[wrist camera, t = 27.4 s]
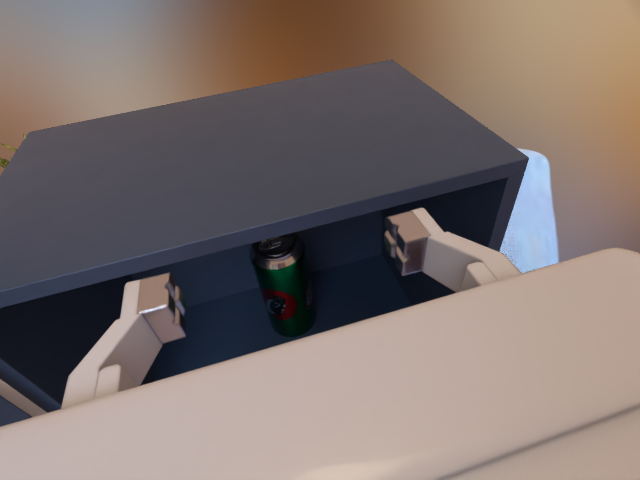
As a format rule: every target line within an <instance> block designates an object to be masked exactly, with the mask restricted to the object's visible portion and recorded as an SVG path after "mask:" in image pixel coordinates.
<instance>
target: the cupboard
mask: <svg viewBox="0 0 640 480" xmlns="http://www.w3.org/2000/svg"><path fill="white" fill-rule="evenodd" d="M528 160H529V158H528V157H527V156H526V155H524V154H523V153H522V152H520V151H519V150H517V149H516V148H515V147H513V146H512V145H510V144H509V143H508V142H506V141H505V140H503V139H502V138H501V137H499V136H498V135H496V134H495V133H494V132H492V131H491V130H489V129H488V128H487V127H485V126H484V125H483V124H481V123H480V122H478V121H477V120H475V119H474V118H473V117H471V116H470V115H469V114H467V113H466V112H464V111H463V110H462V109H460V108H459V107H457V106H456V105H455V104H453V103H452V102H451V101H449V100H448V99H446V98H445V97H444V96H442V95H441V94H439V93H438V92H437V91H435V90H434V89H432V88H431V87H430V86H428V85H427V84H425V83H424V82H423V81H421V80H420V79H418V78H417V77H416V76H414V75H412V74H411V73H410V72H409V71H407V70H406V69H404V68H403V67H402V66H400V65H399V64H398V63H396V62H395V61H393V60H388V61H382V62H377V63H372V64H367V65H362V66H357V67H352V68H347V69H342V70H337V71H332V72H327V73H322V74H317V75H312V76H308V77H302V78H297V79H292V80H287V81H282V82H277V83H272V84H267V85H262V86H257V87H252V88H247V89H242V90H237V91H233V92H227V93H222V94H217V95H212V96H207V97H202V98H197V99H192V100H188V101H182V102H177V103H172V104H167V105H162V106H157V107H152V108H147V109H142V110H137V111H132V112H127V113H122V114H117V115H112V116H108V117H102V118H97V119H92V120H87V121H82V122H77V123H72V124H67V125H62V126H57V127H52V128H47V129H43V130H37V131H32V132H29V133H28V134H27V136H26V137H25V139H24V140H23V142H22V143H21V145H20V147H19V148H18V150H17V151H16V153H15V154H14V156H13V157H12V159H11V160H10V162H9V163H8V165H7V166H6V168H5V169H4V171H3V172H2V174H1V176H0V379H1V380H2V381H4V382H5V383H6V384H8V385H9V386H11V387H12V388H13V389H15V390H16V391H18V392H19V393H20V394H22V395H23V396H25V397H26V398H27V399H29V400H30V401H32V402H33V403H34V404H36V405H37V406H39V407H40V408H41V409H43V410H44V411H46V412H47V413H49V412H52V411H56V410H59V409H61V406H62V402H63V398H64V394H65V389H66V385H67V381H68V376H69V375H70V374H71V373H72V372H73V370H74V369H75V368H76V367H77V366H78V364H79V363H80V362H81V361H82V360H83V358H84V357H85V356H86V355H87V354H88V353H89V351H90V350H91V349H92V348H93V347H94V345H95V344H96V343H97V342H98V341H99V339H100V338H101V337H102V336H103V335H104V333H105V332H106V331H107V330H108V329H109V327H110V326H111V325H112V324H113V323H114V322H115V320H118V319H120V315H121V308H122V301H123V294H124V287H125V285H126V283H127V282H131V281H135V280H140V279H142V278H147V277H151V276H155V275H160V274H164V273H168V272H171V273H172V274H173V276H174V278H175V285H176V286H178V287H180V289H181V291H182V293H183V296H184V300H185V306H186V312H185V313H184V315H183V317H184V319H185V321H186V337H183V338H180V339H177V340H173V341H170V342H167V343H164V344H162V347H161V349H160V351H159V353H158V354H157V356H156V358H155V360H154V361H153V363H152V365H151V367H150V369H149V370H148V372H147V374H146V376H145V378H144V379H143V381H142V383H141V385H144V384H148V383H151V382H155V381H158V380H161V379H165V378H168V377H172V376H175V375H178V374H182V373H185V372H189V371H192V370H195V369H199V368H202V367H206V366H209V365H212V364H216V363H219V362H223V361H226V360H230V359H233V358H236V357H240V356H243V355H247V354H250V353H253V352H257V351H260V350H264V349H267V348H270V347H274V346H277V345H281V344H284V343H287V342H291V341H294V340H298V339H301V338H304V337H308V336H311V335H315V334H318V333H321V332H325V331H328V330H332V329H335V328H338V327H342V326H345V325H349V324H352V323H355V322H359V321H362V320H366V319H369V318H373V317H376V316H379V315H383V314H386V313H390V312H393V311H396V310H400V309H403V308H407V307H410V306H414V305H417V304H420V303H424V302H427V301H431V300H434V299H437V298H441V297H444V296H448V295H451V294H454V293H456V292H455V291H453V290H451V289H450V288H448V287H446V286H445V285H443V284H441V283H440V282H438V281H437V280H435V279H433V278H432V277H430V276H428V275H427V274H425V273H424V272H423V271H420V272H416V273H412V274H409V275H405V276H402V275H401V273H400V271H399V270H398V268H397V267H396V265H395V258H393V257H391V256H390V255H389V253H388V251H387V249H386V246H385V241H384V234H385V232H386V231H387V228H386V227H385V219H386V217H389V216H392V215H396V214H400V213H404V212H408V211H411V210H415V209H418V208H424V209H425V210H426V211H427V212H428V213H429V215H430V216H431V217H432V218H433V219H434V221H435V222H436V223H437V224H438V225H439V227H440V228H441V229H442V230H443V231H444V232H450V233H453V234H455V235H458V236H460V237H463V238H465V239H468V240H470V241H473V242H475V243H478V244H480V245H483V246H485V247H488V248H490V249H493V250H495V251H498V252H499V250H500V247H501V244H502V241H503V238H504V235H505V232H506V229H507V226H508V222H509V219H510V216H511V213H512V210H513V207H514V204H515V201H516V198H517V195H518V191H519V188H520V185H521V182H522V179H523V176H524V172H525V169H526V166H527V163H528ZM294 232H296V233H297V234H298V236H299V237H300V238H301V239H302V241H303V242H304V245H305V251H306V256H307V262H308V268H309V274H310V280H311V286H312V291H313V297H314V303H315V309H316V321H315V323H314V325H313V327H312V328H311V329H310V330H309V331H308V332H306V333H305V334H303V335H300V336H297V337H285V336H282V335H279V334H278V333H276V332H275V331H274V329H273V328H272V326H271V323H270V320H269V316H268V313H267V310H266V307H265V304H264V301H263V297H262V294H261V291H260V288H259V285H258V282H257V279H256V275H255V272H254V269H253V266H252V263H251V260H250V250H251V244H252V243H255V242H259V241H263V240H266V239H270V238H274V237H278V236H282V235H286V234H290V233H294ZM141 385H140V386H141Z"/></svg>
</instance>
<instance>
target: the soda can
mask: <svg viewBox="0 0 640 480" xmlns="http://www.w3.org/2000/svg"><path fill="white" fill-rule="evenodd" d="M250 260H251V263H252V266H253V269H254V272H255V275H256V279H257V282H258V285H259V288H260V291H261V294H262V297H263V301H264V304H265V307H266V310H267V313H268V316H269V320H270V323H271V326H272V328H273V329H274V331H275V332H276V333H278V334H279V335H282V336H285V337H297V336H300V335H303V334H305V333H306V332H308V331H309V330H310V329H311V328H312V327H313V325H314V323H315V321H316V309H315V303H314V297H313V291H312V286H311V280H310V274H309V268H308V262H307V256H306V251H305V245H304V242H303V241H302V239H301V238H300V237H299V236H298V234H297V233H296V232H294V233H290V234H286V235H282V236H278V237H274V238H270V239H266V240H263V241H259V242H255V243H252V244H251V250H250Z"/></svg>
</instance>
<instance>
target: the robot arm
mask: <svg viewBox="0 0 640 480" xmlns="http://www.w3.org/2000/svg"><path fill="white" fill-rule="evenodd" d="M385 227H386V228H387V231H386V232H385V234H384V241H385V246H386V249H387V251H388V253H389V255H390V256H391V257H393V258H395V265H396V267H397V268H398V270H399V271H400V273H401V275H402V276H405V275H409V274H412V273H416V272H420V271H423V272H424V273H425V274H427V275H428V276H430V277H432V278H433V279H435V280H437V281H438V282H440V283H441V284H443V285H445V286H446V287H448V288H450V289H451V290H453V291H455V292H456V293H454V294H451V295H448V296H444V297H441V298H437V299H434V300H431V301H427V302H424V303H420V304H417V305H414V306H410V307H407V308H403V309H400V310H396V311H393V312H390V313H386V314H383V315H379V316H376V317H373V318H369V319H366V320H362V321H359V322H355V323H352V324H349V325H345V326H342V327H338V328H335V329H332V330H328V331H325V332H321V333H318V334H315V335H311V336H308V337H304V338H301V339H298V340H294V341H291V342H287V343H284V344H281V345H277V346H274V347H270V348H267V349H264V350H260V351H257V352H253V353H250V354H247V355H243V356H240V357H236V358H233V359H230V360H226V361H223V362H219V363H216V364H212V365H209V366H206V367H202V368H199V369H195V370H192V371H189V372H185V373H182V374H178V375H175V376H172V377H168V378H165V379H161V380H158V381H155V382H151V383H148V384H144V385H141V383H142V381H143V379H144V378H145V376H146V374H147V372H148V370H149V369H150V367H151V365H152V363H153V361H154V360H155V358H156V356H157V354H158V353H159V351H160V349H161V347H162V344H164V343H167V342H170V341H173V340H177V339H180V338H183V337H186V321H185V319H184V317H183V315H184V313H185V312H186V306H185V300H184V296H183V293H182V291H181V289H180V287H178V286H176V285H175V278H174V276H173V274H172V273H171V272H168V273H164V274H160V275H155V276H151V277H147V278H142V279H140V280H135V281H131V282H127V283H126V285H125V287H124V294H123V301H122V308H121V315H120V319H118V320H115V322H114V323H113V324H112V325H111V326H110V327H109V329H108V330H107V331H106V332H105V333H104V335H103V336H102V337H101V338H100V339H99V341H98V342H97V343H96V344H95V345H94V347H93V348H92V349H91V350H90V351H89V353H88V354H87V355H86V356H85V357H84V358H83V360H82V361H81V362H80V363H79V364H78V366H77V367H76V368H75V369H74V370H73V372H72V373H71V374H70V375H69V376H68V381H67V385H66V389H65V394H64V398H63V402H62V406H61V409H59V410H56V411H52V412H49V413H47V412H46V411H44V410H43V409H41V408H40V407H39V406H37V405H36V404H34V403H33V402H32V401H30V400H29V399H27V398H26V397H25V396H23V395H22V394H20V393H19V392H18V391H16V390H15V389H13V388H12V387H11V386H9V385H8V384H6V383H5V382H4V381H2V380H1V379H0V395H1V396H2V397H4V398H5V399H7V400H8V401H10V402H11V403H13V404H14V405H16V406H17V407H19V408H20V409H22V410H23V411H25V412H26V413H28V414H29V415H31V416H32V418H29V419H25V420H22V421H18V422H15V423H12V424H8V425H5V426H1V427H0V480H640V253H636V252H633V251H630V250H626V249H622V248H608V249H604V250H600V251H597V252H594V253H590V254H587V255H584V256H581V257H577V258H574V259H571V260H567V261H563V262H560V263H557V264H553V265H550V266H546V267H543V268H539V269H536V270H533V271H529V272H526V273H521V272H520V271H519V270H518V269H517V268H516V267H515V266H514V264H513V263H512V262H511V261H510V260H509V259H508V258H507V257H506V256H505V255H504V254H503V253H500V252H498V251H495V250H493V249H490V248H488V247H485V246H483V245H480V244H478V243H475V242H473V241H470V240H468V239H465V238H463V237H460V236H458V235H455V234H453V233H450V232H444V231H443V230H442V229H441V228H440V227H439V225H438V224H437V223H436V222H435V221H434V219H433V218H432V217H431V216H430V215H429V213H428V212H427V211H426V210H425V209H424V208H418V209H415V210H411V211H408V212H404V213H400V214H396V215H392V216H389V217H386V219H385ZM140 385H141V386H140Z"/></svg>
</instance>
